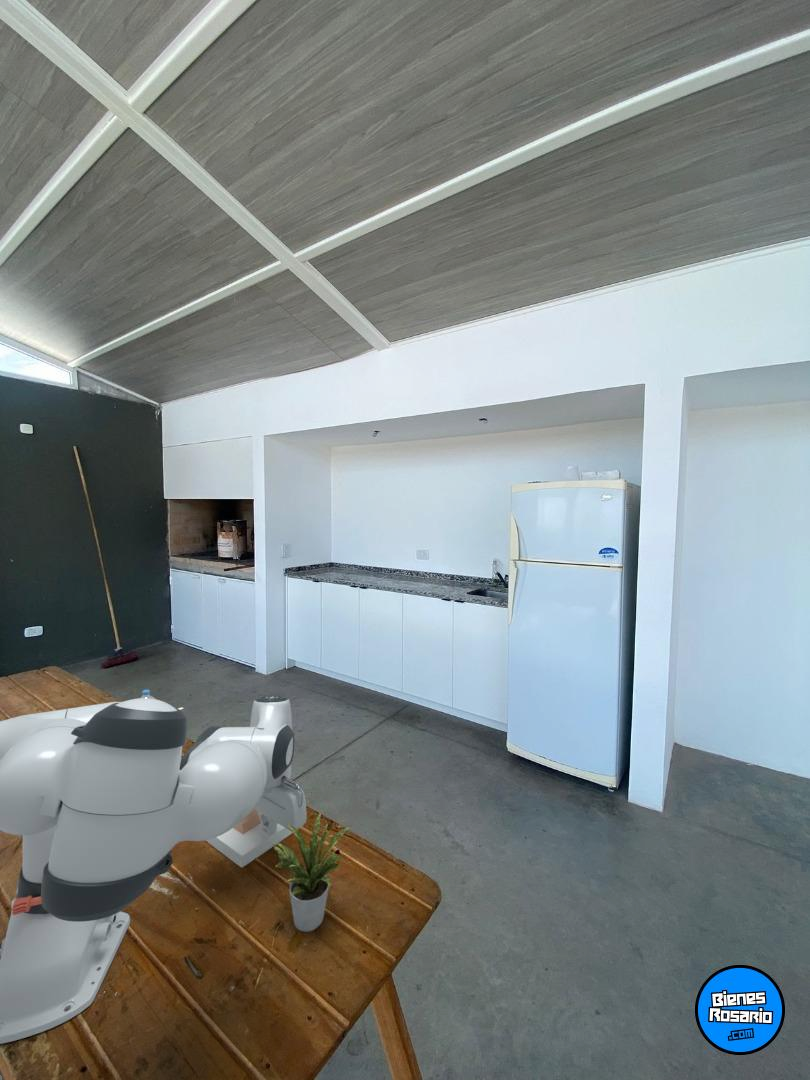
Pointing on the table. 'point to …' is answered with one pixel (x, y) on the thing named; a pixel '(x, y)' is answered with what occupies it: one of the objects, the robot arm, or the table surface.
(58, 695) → the table surface
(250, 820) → the terracotta tile
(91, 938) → the robot arm
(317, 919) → the house plant
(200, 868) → the table surface
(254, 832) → the white slab
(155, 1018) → the table surface
